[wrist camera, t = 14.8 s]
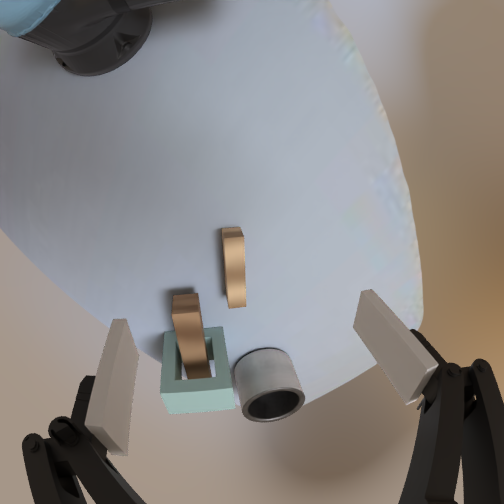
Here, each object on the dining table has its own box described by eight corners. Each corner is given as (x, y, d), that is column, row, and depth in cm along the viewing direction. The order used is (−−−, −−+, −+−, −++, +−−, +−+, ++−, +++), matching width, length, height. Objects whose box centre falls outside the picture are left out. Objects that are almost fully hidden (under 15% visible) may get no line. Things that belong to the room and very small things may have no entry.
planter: (237, 388, 59) (245, 427, 49) (229, 352, 54) (237, 396, 44) (290, 377, 61) (304, 414, 51) (289, 340, 55) (307, 380, 45)
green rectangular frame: (164, 331, 49) (160, 393, 36) (222, 326, 50) (232, 387, 38) (170, 354, 51) (169, 413, 38) (225, 349, 53) (235, 408, 40)
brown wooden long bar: (173, 295, 43) (171, 314, 38) (198, 292, 44) (199, 312, 39) (193, 381, 52) (194, 401, 48) (212, 380, 53) (215, 399, 49)
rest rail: (221, 228, 42) (224, 238, 39) (239, 227, 43) (244, 236, 39) (226, 294, 48) (228, 308, 44) (242, 293, 48) (246, 306, 44)
